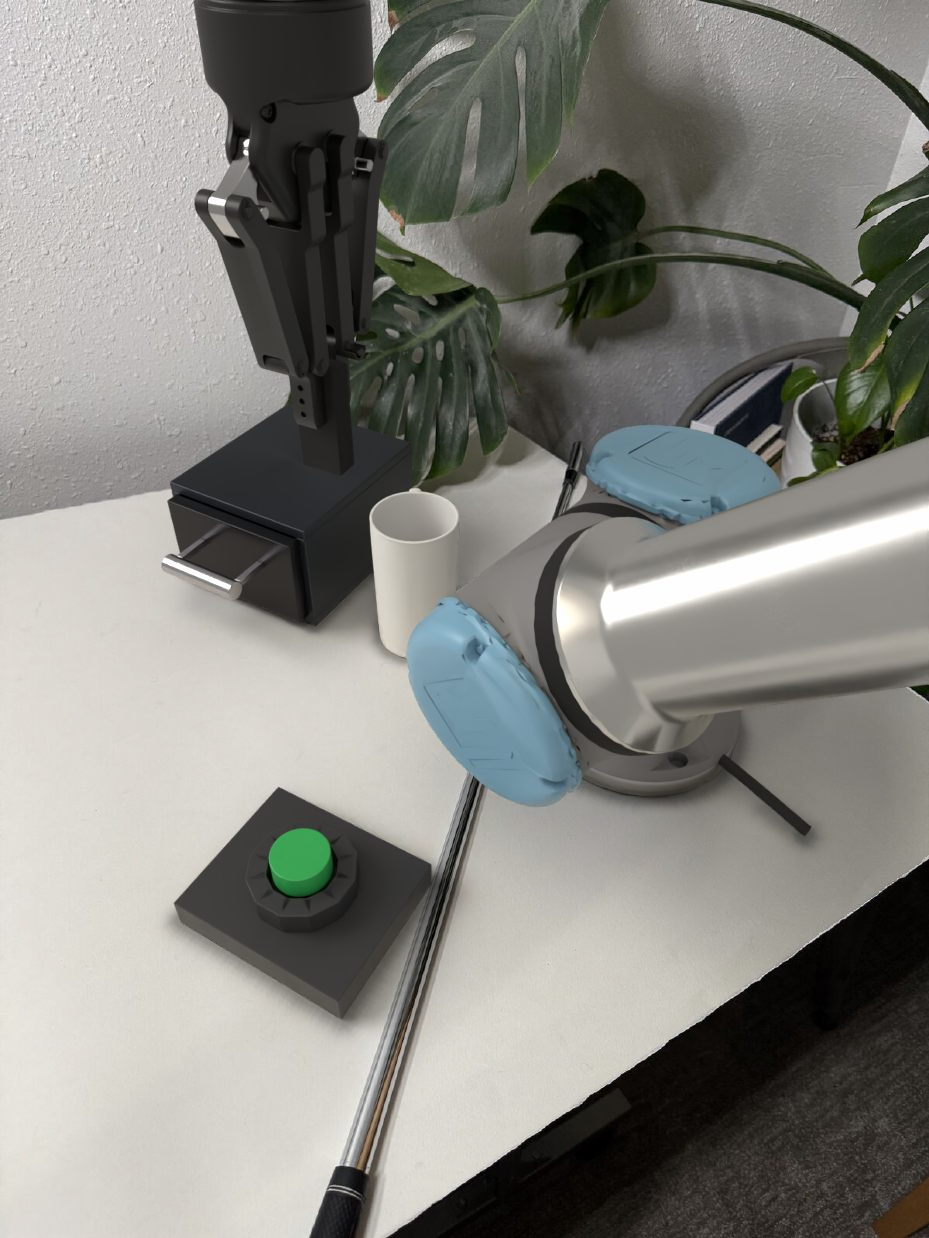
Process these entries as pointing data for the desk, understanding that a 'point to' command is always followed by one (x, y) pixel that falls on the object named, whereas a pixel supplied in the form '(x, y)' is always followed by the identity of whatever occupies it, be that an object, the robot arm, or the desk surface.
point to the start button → (301, 862)
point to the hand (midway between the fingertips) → (328, 464)
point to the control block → (307, 903)
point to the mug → (412, 561)
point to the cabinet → (305, 498)
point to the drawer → (236, 558)
